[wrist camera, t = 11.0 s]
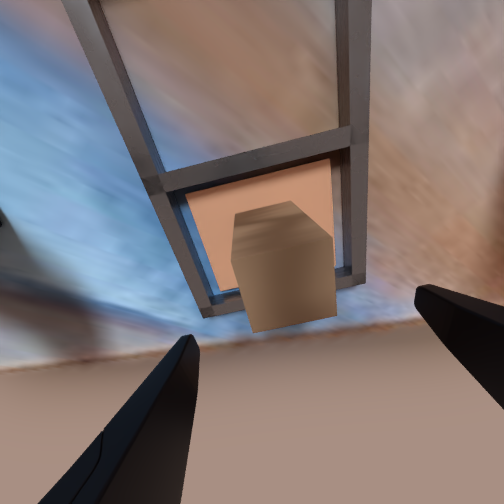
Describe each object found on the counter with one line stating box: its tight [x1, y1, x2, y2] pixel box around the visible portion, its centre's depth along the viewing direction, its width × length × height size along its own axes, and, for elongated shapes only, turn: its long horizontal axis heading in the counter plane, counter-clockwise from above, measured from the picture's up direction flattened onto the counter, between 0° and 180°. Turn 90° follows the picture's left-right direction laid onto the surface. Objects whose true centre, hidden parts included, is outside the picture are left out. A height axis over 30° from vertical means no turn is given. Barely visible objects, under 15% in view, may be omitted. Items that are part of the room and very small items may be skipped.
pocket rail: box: [61, 0, 372, 318], centre depth 14 cm, size 15×24×2 cm, turn 13°
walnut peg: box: [231, 200, 337, 333], centre depth 13 cm, size 4×4×8 cm
